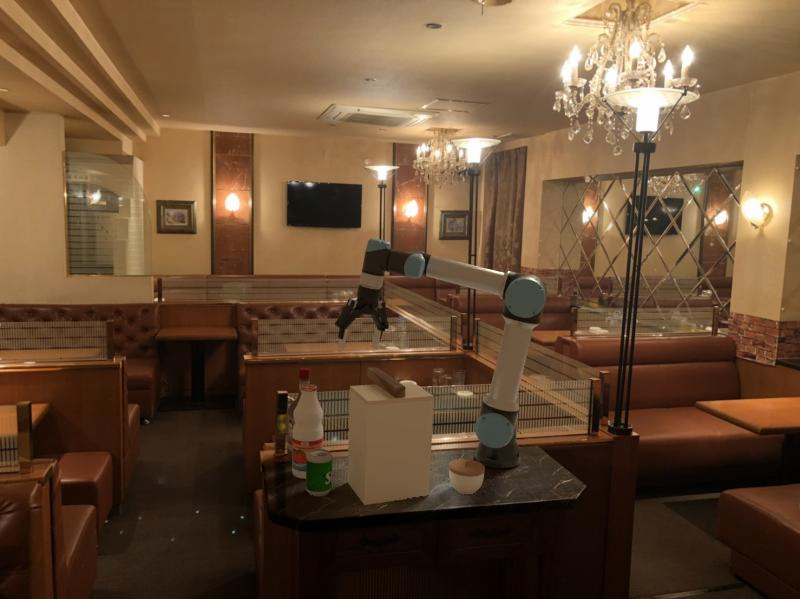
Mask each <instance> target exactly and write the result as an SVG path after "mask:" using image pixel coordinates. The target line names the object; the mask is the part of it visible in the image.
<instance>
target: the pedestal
mask: <svg viewBox="0 0 800 599" xmlns="http://www.w3.org/2000/svg"><path fill="white" fill-rule="evenodd" d="M400 383H401V384H402V385H404V386H405V387H406V388H405V397H401V398H395V397H393V396H392V395H391V394H389V393H388V392H387V391H385V390H384V389H383V388H381V387H380V386H379V385H377V384H376V383H374V384H364V385H363V384H360V385H359V384H358V385H350V386H349V412H348V413H349V416H348V417H349V418H348V419H349V420H348V448H347V450H348V451H347V452H348V453H347V455H348V456H347V481H346V482H347V484H348V485H349V487H350V488H351V489H352V490H353V491H354V493H355V494H356V496H357V497H358V498H359V500H360V501H361V502H362V504H363V505H364V506H368V505H375V504H381V503H387V502H394V501H395V500H396V501H401V500H407V498H409V499H413V498H412V497H416V498H420V497H419V496H423V497H428V496H427V495H429V496H430V487H431V486H430V485H431V466H432V464H431V462H432V445H433V443H432V442H433V441H432V440H433V421H434V404H435V402H434V401H435V400H434V397H435V396H434V395H433V394H432V393H430V392H428V391H426V390H425V389H423V388H422V387H421V386H419V385H417V384H416V383H414V382H413V381H405V382H403V381H402V382H400Z"/></svg>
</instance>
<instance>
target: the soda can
mask: <svg viewBox="0 0 800 599" xmlns="http://www.w3.org/2000/svg"><path fill="white" fill-rule="evenodd" d="M333 457H334V456H333V454H332V453H331V452H330V451H329V450H328V449H324V448H323V449H314V450H311V451H310V452H309V453H308V454H307V456H306V479H305V490H306V492H307V493H308V494H309V495H310V496H312V495H313V496H312V497H325V496H327V495H328V494H329V493H330V492H331V491H332V489H333V488H332V485H333Z"/></svg>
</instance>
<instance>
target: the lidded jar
mask: <svg viewBox="0 0 800 599" xmlns="http://www.w3.org/2000/svg"><path fill="white" fill-rule="evenodd" d="M485 468H486V467H485V465H483V464H482V463H480V462H478V461H477V460H473V459H469V458H460V459H459V458H457V459H454V460H451V461H450V462H449V463H448V478H449V482H450V485H451V486H452V488H453V489H454V490H455V492H456V491H457V492H456V493H458V492H459V493H458V494H460V493H461V495H464V494H471V495H473V493H474V494H476V492H477V491H478V490H479V489H480V488H481V486H482V485H483V482H484V476H485V470H486V469H485Z"/></svg>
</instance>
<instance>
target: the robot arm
mask: <svg viewBox="0 0 800 599" xmlns="http://www.w3.org/2000/svg"><path fill="white" fill-rule="evenodd" d="M386 272H387V273H391V274H394V275H398V276H403V277H405V278H406V277H407V278H408V279H410V278H411V279H420V278H421V276H423V277H426V278H427V277H428V278H432V279H436V280H439V281H443V282H446V283H450V284H455V285H458V286H462V287H466V288H469V289H474V290H478V291H480V292H485V293H488V294H492V295H495V296H499V298H500V299H501V300H503V301H504V304H503V309H502V312H501V313H502V315H501V317H502V318H503V319H504V326H503V332H502V336H501V341H500V345H499V349H498V353H497V358H496V362H495V367H494V370H493V375H492V380H491V383H490V388H489V392H486V393H485V394H484V395H483V398H482V399H481V400H482V401H481V405H480V409H479V414H478V417H477V420H476V421H475V424H474V431H475V436H476V437H477V439H478V441H479V442H478V445H477V448H476V449H475V455H474V457H475V461H478V462H480V463H482V464H483V465H484V467H485V466H486V467H489V468H494V469H509V468H511V469H512V468H515V467H517V466H519V465H520V463H521V453H520V450H519V444H518V441H517V435H518V434H517V432H518V420H519V419H518V417H519V410H520V404H519V401H520V400H519V397H518V393H519V390H520V385H521V381H522V376H523V374H524V368H525V364H526V361H527V356H528V352H529V348H530V344H531V339H532V334H533V331H534V329H535V328H536V327H538V326H539V325H540V324H541V319H542V315H543V312H544V306H545V304H546V301H547V296H548V289H547V286H546V283H545V282H544V281H543V279H542V278H541V277H539V276H537V275H534V274H530V273H523V272H522V273H520V272H515V271H510V270H507V271H506V272H502V271H498V270H495V269H490V268H486V267H482V266H478V265H473V264H470V263H466V262H462V261H458V260H454V259H451V258H450V259H449V258H445V257H442V256H438V255H433V254H429V253H426V252H424V251H422V250H418V249H417V250H411V251H401V250H396V249H394V248H392V247H391V243H390V242H389V241H387V240H383V239H379V238H370V239H368V240H367V244H366V247H365V251H364V257H363V262H362V268H361V273H360V278H359V285H358V286H357V292H356V293H357V294H356V297H357V298H356V300H354V299H352V298H348V299H347V303H346V306H344V308H343V310H342V312H341V313H340V315H339V317H338V318H337V319H336V321H335V322H334V326H335V327H337V328H339V329H338V334H337V338H338V344H337V348H338V349H340V350H343V351H344V350H345V346H346V340H347V336H348V331H349V330H348V327H349V326H350V325H351V324H352V323H354V321H355V320H356V319H357V318H358V317H359V316H361V315H369V316H371V318H372V320H373V322H374V325H375V326H376V328H374V332H373V338H372V342H371V346H370V347H371V348H372V349H374V350H376V351H377V350H378V349H379V345H380V341H381V340H382V338H383V332H386V330H388V329H389V328H390V325H389V321H388V316H387V312H386V305H387V304H386V302H385V301H382V300H380V298H381V294H382V288H383V284H384V278H385V273H386ZM377 310H378V311H377Z"/></svg>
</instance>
